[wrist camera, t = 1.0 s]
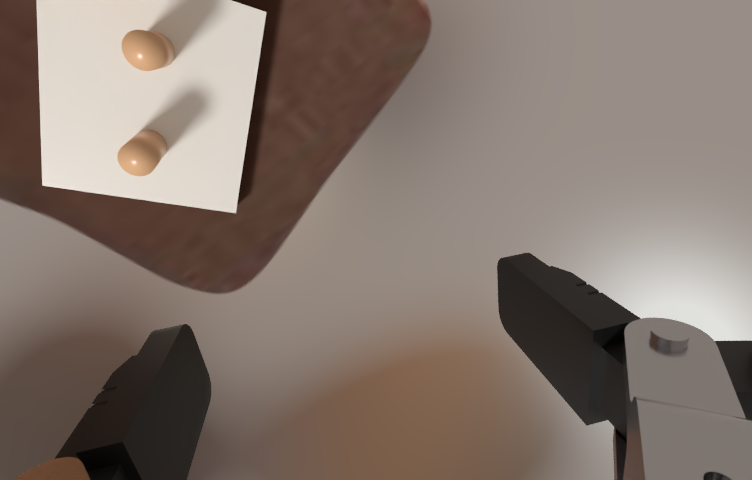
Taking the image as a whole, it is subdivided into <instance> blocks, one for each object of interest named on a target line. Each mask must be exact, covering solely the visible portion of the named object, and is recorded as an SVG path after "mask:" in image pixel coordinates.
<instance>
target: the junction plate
mask: <svg viewBox="0 0 752 480" xmlns="http://www.w3.org/2000/svg"><path fill="white" fill-rule="evenodd" d="M265 19H266V12H265V11H262V10H259V9H256V8H253V7H250V6H247V5H244V4H241V3H238V2H235V1H232V0H37V29H38V61H39V93H40V124H41V156H42V186H49V187H56V188H63V189H70V190H77V191H84V192H91V193H98V194H105V195H112V196H119V197H126V198H133V199H140V200H147V201H154V202H161V203H168V204H175V205H182V206H189V207H196V208H203V209H210V210H217V211H224V212H231V213H236V208H237V202H238V195H239V189H240V182H241V176H242V169H243V163H244V156H245V150H246V143H247V137H248V130H249V123H250V117H251V110H252V104H253V97H254V91H255V84H256V78H257V71H258V65H259V58H260V52H261V45H262V39H263V32H264V25H265Z"/></svg>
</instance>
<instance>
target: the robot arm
mask: <svg viewBox="0 0 752 480" xmlns="http://www.w3.org/2000/svg"><path fill="white" fill-rule="evenodd" d="M497 271H498V272H497V273H498V303H499V315H500V319H501V322H502V324H503V327H504V329H505V330H506V332H507V333H508V334H509V335H510V337H511V338H512V339H513V340H514V341H515V342H516V344H517V345H518V346H519V347H520V348H521V349H522V351H523V352H524V353H525V354H526V355H527V356H528V358H529V359H530V360H531V361H532V362H533V363H534V364H535V366H536V367H537V368H538V369H539V370H540V372H541V373H542V374H543V375H544V376H545V377H546V379H547V380H548V381H549V382H550V383H551V384H552V386H553V387H554V388H555V389H556V390H557V391H558V393H559V394H560V395H561V396H562V397H563V398H564V400H565V401H566V402H567V403H568V404H569V405H570V407H571V408H572V409H573V410H574V411H575V412H576V413H577V415H578V416H579V417H580V418H581V419H582V421H583V422H584V423H585V424H586V425H590V424H594V423H597V422H601V421H605V420H609V421H610V422H611V423H612V425H613V426H614V435H613V451H614V480H752V341H714V340H713V339H712V338H711V337H710V336H709V335H707V334H706V333H705V332H703V331H701V330H700V329H698V328H696V327H694V326H691V325H688V324H685V323H683V322H679V321H675V320H670V319H664V318H643V319H640V318H639V317H637V316H636V315H634V314H633V313H631V312H630V311H628V310H627V309H625V308H624V307H622V306H621V305H619V304H618V303H616V302H615V301H613V300H612V299H610V298H609V297H607V296H606V295H604V294H603V293H599V292H598V290H597V289H595V288H594V287H592V286H591V285H587V284H586V282H585V281H583V280H582V279H580V278H579V277H577V276H576V275H574V274H573V273H571V272H568V271H565V270H562V269H559V268H556V267H553V266H550V267H549V266H548V265H546V264H545V263H543V262H542V261H540V260H539V259H538V258H536V257H535V256H533V255H532V254H530V253H524V254H519V255H514V256H509V257H505V258H501V259H500V260H499V261H498V266H497ZM101 391H102V392H101V393H99V394H98V395H97V397H96V398H95V400H94V401H93V403H92V407H91V408H89V409H88V410H87V412H86V413H85V415H84V417H83V418H82V419H81V421H80V422H79V423H78V425H77V426H76V428H75V429H74V431H73V432H72V434H71V435H70V437H69V438H68V440H67V441H66V443H65V444H64V446H63V447H62V449H61V450H60V452H59V453H58V455H57V456H56V458H55V459H53V460H50V461H47V462H45V463H42V464H40V465H38V466H36V467H34V468H32V469H30V470H28V471H26V472H25V473H23V474H21V475H20V476H18V477H17V478H15V479H14V480H187V477H188V473H189V470H190V467H191V463H192V460H193V457H194V453H195V450H196V447H197V443H198V440H199V437H200V433H201V430H202V427H203V423H204V420H205V416H206V413H207V410H208V406H209V403H210V399H211V382H210V377H209V374H208V371H207V368H206V366H205V363H204V360H203V358H202V355H201V352H200V350H199V347H198V344H197V341H196V339H195V336H194V333H193V331H192V329H191V328H190V326H188V325H187V324H184V325H179V326H174V327H170V328H165V329H160V330H155V331H153V332H152V333H151V334H150V335H149V337H148V339H147V340H146V342H145V343H144V345H143V347H142V348H141V350H140V352H139V353H138V355H136V356H132V357H131V358H129V359H128V360H127V361H126V362H125V363H124V364H122V365H121V366H120V367H119V368H118V369H117V370H116V371H114V372H113V373H112V375H111V376H110V378H109V379H108V381H107V382H106V384H105V385H104V387H103V388H102V390H101Z"/></svg>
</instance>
